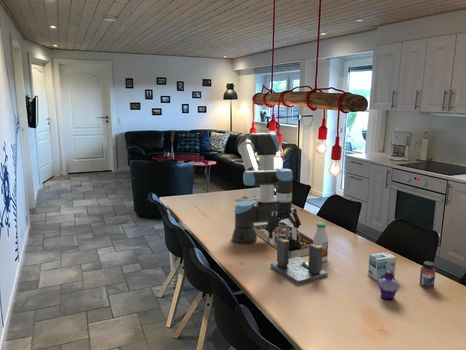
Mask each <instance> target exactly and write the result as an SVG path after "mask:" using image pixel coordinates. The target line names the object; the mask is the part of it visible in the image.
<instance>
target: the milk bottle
mask: <svg viewBox="0 0 466 350" xmlns="http://www.w3.org/2000/svg"><path fill="white" fill-rule="evenodd" d="M326 228H327V224H326V223H325V222H317V223H316V231H315V233H314V234H313V235H314V236H313V240H312V241H313V243H312V244H316V245H318V246H320V245H321V246H322V263H324V262H326V261H328V256H329V255H328V254H329V253H328V252H329V251H328V250H329V237H328V234H327V232H326Z"/></svg>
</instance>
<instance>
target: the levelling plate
mask: <svg viewBox="0 0 466 350" xmlns="http://www.w3.org/2000/svg"><path fill="white" fill-rule="evenodd" d="M271 267H272V270H274V269H275V270H274V271H276V272H277V271H278V272H277V273H278V274H280V273H281V275H282V276H284V277H285V278H286V277H287V278H286V279H288V280H289V279H290V280H289V281H291V282H292V281H293V283H294V282H295V283H294V284H295V285H297V284H298V285H297V286H300V285H303V284H306V283H309V282H313V281H316V280H319V279H323V278H326V277H328V271H325V270H324V269H322V268H321V271H320V273H311V272H310V268H309V260H307V259H304V258H302V257H300V256H296V257H291V258H289V264H288V265H287V266H285V267H281V266H279V265H278V262H277V261H276V262H272V263H270V268H271ZM299 284H300V285H299Z"/></svg>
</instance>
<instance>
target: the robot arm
mask: <svg viewBox="0 0 466 350" xmlns="http://www.w3.org/2000/svg"><path fill="white" fill-rule="evenodd" d="M277 135H278V134H276V133H275V132H268V131H267V132H249V133H247V134H244V135H243V136H242V137H241V138H240V139H239V141H238V143H237V152H238V153H239V154H240V155H241V159H242V163H243V166H244V169H245V170H244V171H243V174H242V175H243V176H242V179H243V184H244V186H251V187H253V186H259V198H258V199H257V203H255V202H254V201H253V200H242V201H239V202H237V203H236V204H235V205H234V229H233V232H232V235H231V241H232V242H234V241H235V242H234V243H236V242H238V243H237V244H240V243H250V244H253V243H252V242H254V243H255V241H256V240H257V241H258V236H257V232H256V229H255V224H259V223H262V224H264V223H266V226H265V231H267V232H268V238H269V245H272V246H275V230H276V228H277V226H278V224H279V223H280V222H281V221H282V220H283V221H284V220H288V221H289V222H290V223H291V224H292V227H291V239H292V240H294V241H297V233H298V231H299V230H298V229H299V228H300V226H301V225H302V223H301V219H300V218H299V215H298V214H297V209H296V208H294V207H293V206H292V205H293V204H292V203H293V178H294V175H293V170H292V169H291V168H275V167H274V166H275V165H274V164H275V163H274V161H275V159H274V158H275V157H276V156H277V153H278V152H279V151H280V140H279V137H278V136H277ZM257 158H258V159H257ZM258 161H259V162H258ZM275 186H276V193H275ZM275 194H276V196H275ZM275 197H276V198H275ZM291 214H292V215H291ZM257 241H256V242H257Z"/></svg>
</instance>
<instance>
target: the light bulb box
mask: <svg viewBox="0 0 466 350" xmlns="http://www.w3.org/2000/svg"><path fill="white" fill-rule="evenodd" d="M368 258H369V260H368V272H367V275H368V276H369V277H371V278H372V279H373V280H375V281H379V279H383V278H384V273H386V271H388V270H390V271H392V272H393V274H394V277H395V275H396V264H397V257H396V256H395V255H393V254H392V253H390V252H388V251H386V252H378V253H370V254H369V256H368Z"/></svg>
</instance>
